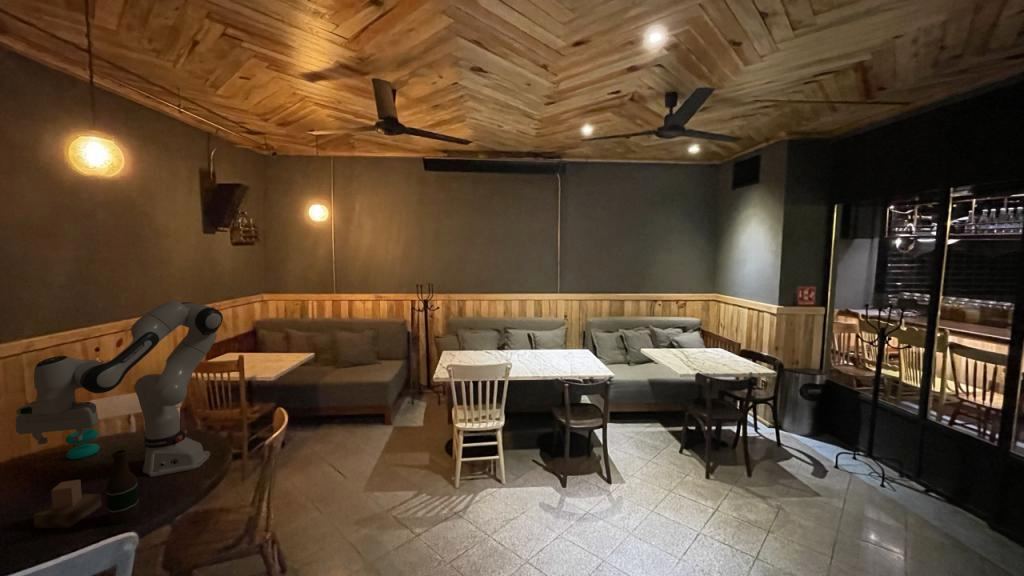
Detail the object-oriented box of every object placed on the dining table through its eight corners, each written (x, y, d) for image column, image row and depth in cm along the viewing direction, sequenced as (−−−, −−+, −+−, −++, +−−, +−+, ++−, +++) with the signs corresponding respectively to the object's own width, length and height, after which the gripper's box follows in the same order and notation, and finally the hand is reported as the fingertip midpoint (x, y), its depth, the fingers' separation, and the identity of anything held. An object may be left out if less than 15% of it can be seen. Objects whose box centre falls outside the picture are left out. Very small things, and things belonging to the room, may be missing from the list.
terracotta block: (81, 497, 140) (80, 479, 139) (72, 506, 135) (71, 487, 134) (62, 500, 138) (61, 482, 137) (52, 509, 133) (51, 490, 132)
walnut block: (101, 506, 143) (100, 493, 142) (70, 528, 132) (68, 514, 131) (69, 507, 142) (67, 494, 141) (34, 529, 131) (33, 514, 130)
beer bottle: (122, 509, 141) (117, 446, 138) (145, 509, 141) (141, 445, 139) (101, 525, 133) (96, 457, 131) (126, 524, 134) (121, 457, 131)
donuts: (101, 431, 176) (68, 440, 167) (102, 453, 177) (70, 463, 168) (94, 426, 181) (62, 434, 173) (96, 446, 182) (64, 455, 174)
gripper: (101, 397, 142) (104, 434, 143) (25, 403, 135) (30, 441, 137) (89, 404, 136) (92, 442, 137) (9, 410, 129) (14, 450, 131)
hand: (60, 441), depth 137 cm, fingers open, 8 cm apart
